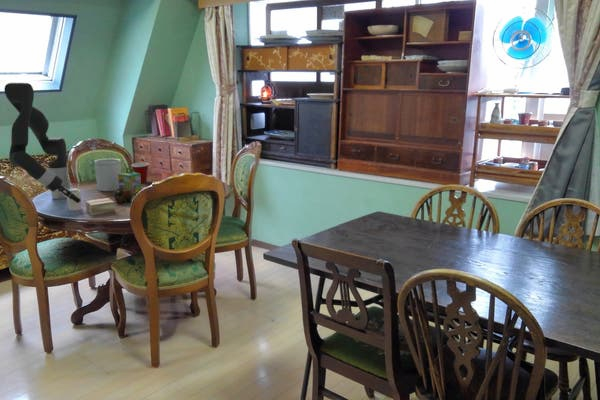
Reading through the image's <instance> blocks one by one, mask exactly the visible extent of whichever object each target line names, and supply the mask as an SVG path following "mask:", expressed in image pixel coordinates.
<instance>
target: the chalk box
mask: <svg viewBox="0 0 600 400" xmlns="http://www.w3.org/2000/svg"><path fill="white" fill-rule="evenodd" d="M129 170H130V171H129ZM118 182H119V188H128V189H129V190H131V191H132V193H133V195H136V194H138V193H137V192H139V191H140V190H141V191H142V183H141V176H140V173H135V172H134V170H133V167H126V169H125V172H121V174H118Z"/></svg>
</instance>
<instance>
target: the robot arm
mask: <svg viewBox="0 0 600 400" xmlns="http://www.w3.org/2000/svg"><path fill="white" fill-rule="evenodd" d="M3 90H4V95H5V97H6V98H7V100H8V102H9V103H10V104H11V105H12V106H13V108H15V109H16V111H18V113H19V114H18V115H17V117H16V119H15V121H14V122H13V124H12V127H11V131H10V132H11V133H10V134H11V135H10V136H11V138H10V139H11V141H10V143H11V144H10V149H9V155H8V156H9V163H10V164H11V165H12V166H14V167H18V168H19V167H20V168H22V169H24V170H25V172H26V173H27V174H28V175H29V176H30V177H31V178H33V179H34V180H35V181H36V182H38V183H39V184H41V185H42V186H43V187H45V188H46V189H48V190H49V191H50V192H51V197H52V199H53V200H64V199H67V197H69V198H70V199H72V200H74V201H75V202H77V203H79V202H80V201H81V202H82V199H81V200H80V199H79V198H78V197H76V196H75V195H74V194H72V193H71V191H70V190H69V189H71V184H70V179H69V172H68V157H67V143H66V141H65V139H64V138H62V137H49V136H48V135H47V133H48V130H49V126H50V124H49V120H48V119H47V117H46V116H45V114H44V113H43V111H41V110H40V109H38V108H37V107H35V106H34V105H33V104H34V103H33V102H34V98H35V94H34V88H33V85H32V84H30V83H29V82H8V83H6V84H5V86H4V89H3ZM29 129H30V130H31V132H32V133H33V135H34V136H35V137H36V140H37V141H38V143H39V145H40V147H41V149H42V151H43V152H44V153H45V154H46V155H48V156H57V157H56V158H55V159H54V160H52V161H49V162H48V163H47V165H48V166H47V167H48V169H47V168H46V167H44V166H43V165H42V164H40V163H39V162H37V160H36V159H35V158H34V157H32V155H30V154H29V153H28V152H27V151H26V150H27V146H28V145H29ZM70 194H72V195H71V196H69V195H70Z"/></svg>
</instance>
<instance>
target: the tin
mask: <svg viewBox="0 0 600 400" xmlns="http://www.w3.org/2000/svg"><path fill="white" fill-rule="evenodd" d="M69 190H70V191H71V193H72V194H74V195H75V196H76V197H78V198H79V199H80V200H81V201H80V202H79V203H77V202H75V201H74V200H72V199H70V198H69V197H67V198H66V203H67V209H68V210H69V212H72V211H74V212H75V211H79V210H83V205H82V204H83V203H82V193H81V191H80V189H79V188H70V189H69ZM72 194H70V195H69V196H71V195H72Z"/></svg>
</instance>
